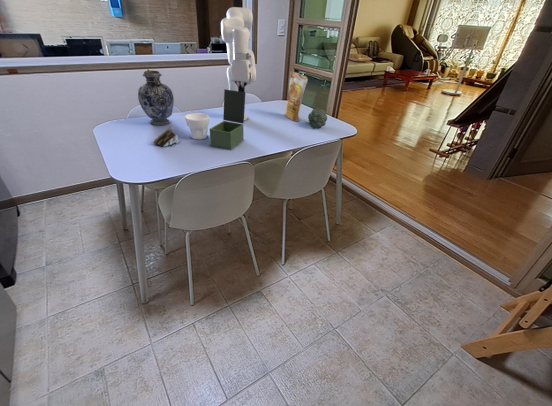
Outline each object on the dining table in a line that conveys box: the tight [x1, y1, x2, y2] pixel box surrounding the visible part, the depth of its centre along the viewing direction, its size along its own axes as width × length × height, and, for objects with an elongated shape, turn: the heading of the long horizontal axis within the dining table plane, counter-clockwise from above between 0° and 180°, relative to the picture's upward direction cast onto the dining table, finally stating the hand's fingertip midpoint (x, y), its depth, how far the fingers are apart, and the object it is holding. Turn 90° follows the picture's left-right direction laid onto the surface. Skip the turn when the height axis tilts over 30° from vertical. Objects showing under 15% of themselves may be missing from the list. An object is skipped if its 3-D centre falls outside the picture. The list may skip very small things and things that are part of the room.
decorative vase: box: [137, 69, 175, 126], centre depth 163 cm, size 21×19×28 cm
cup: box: [184, 112, 210, 140], centre depth 153 cm, size 12×12×11 cm
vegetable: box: [307, 107, 328, 129], centre depth 180 cm, size 12×13×15 cm
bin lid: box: [222, 89, 246, 124], centre depth 149 cm, size 15×12×1 cm
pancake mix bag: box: [285, 70, 309, 122], centre depth 186 cm, size 7×19×28 cm, turn 26°
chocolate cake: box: [152, 126, 180, 148], centre depth 145 cm, size 10×7×12 cm
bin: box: [209, 120, 244, 151], centre depth 149 cm, size 15×12×9 cm
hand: (241, 94), depth 153 cm, fingers closed
